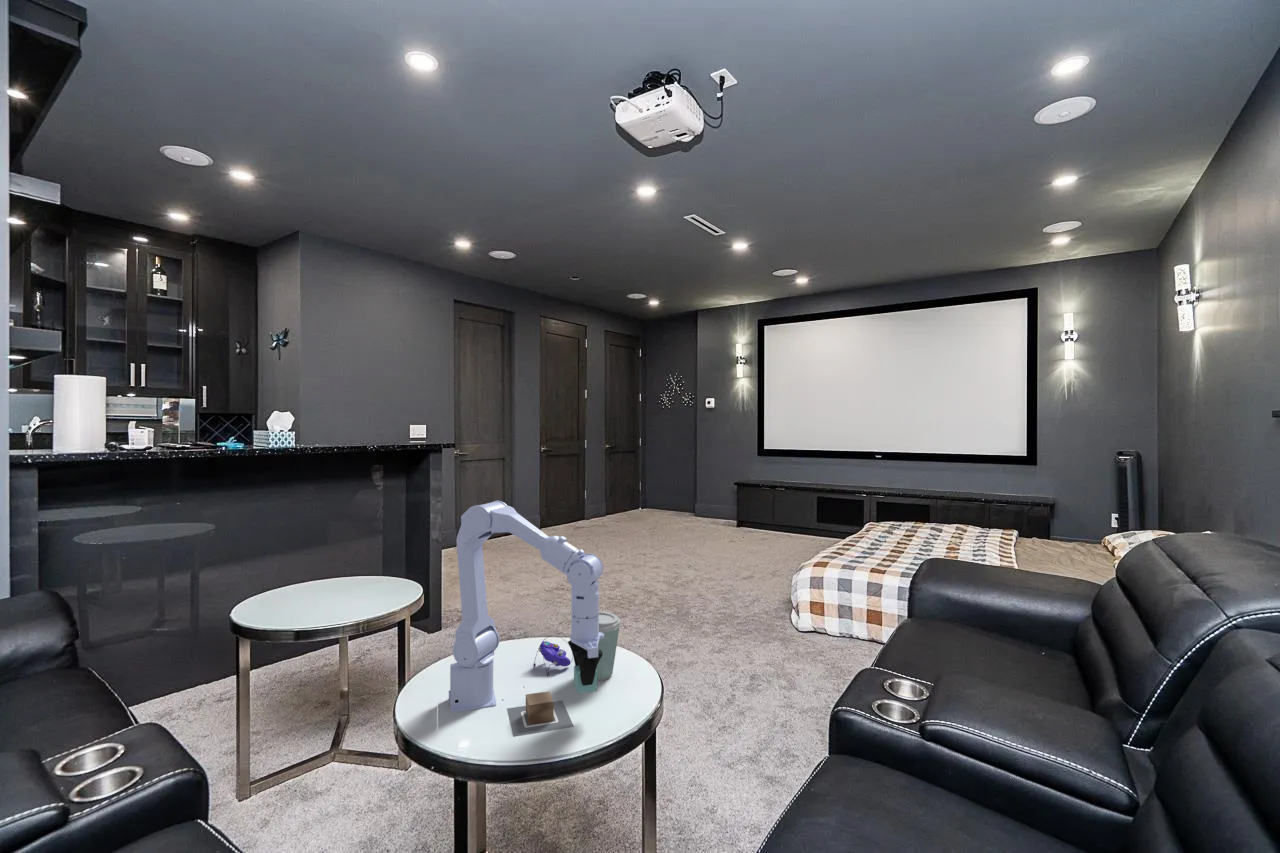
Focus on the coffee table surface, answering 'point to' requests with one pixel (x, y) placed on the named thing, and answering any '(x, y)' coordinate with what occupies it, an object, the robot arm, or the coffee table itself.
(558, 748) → the coffee table surface
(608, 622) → the disposable coffee cup
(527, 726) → the mat
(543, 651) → the game controller
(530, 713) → the walnut block
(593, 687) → the teal cube
